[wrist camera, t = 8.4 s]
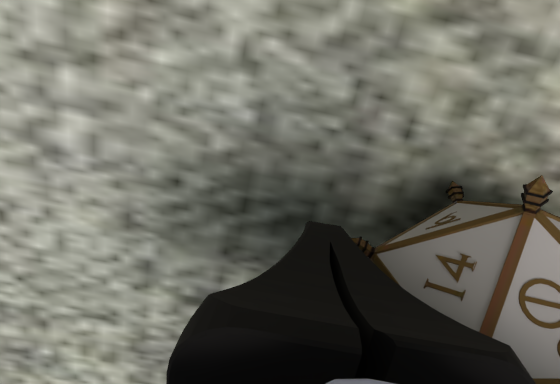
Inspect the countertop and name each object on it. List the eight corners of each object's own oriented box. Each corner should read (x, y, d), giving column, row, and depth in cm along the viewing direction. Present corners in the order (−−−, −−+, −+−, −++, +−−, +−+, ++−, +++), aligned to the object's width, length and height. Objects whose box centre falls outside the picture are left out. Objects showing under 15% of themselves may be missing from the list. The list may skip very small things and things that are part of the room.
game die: (378, 211, 18) (240, 238, 10) (587, 137, 13) (647, 74, 5) (446, 395, 16) (345, 607, 8) (717, 393, 11) (1127, 923, 3)
